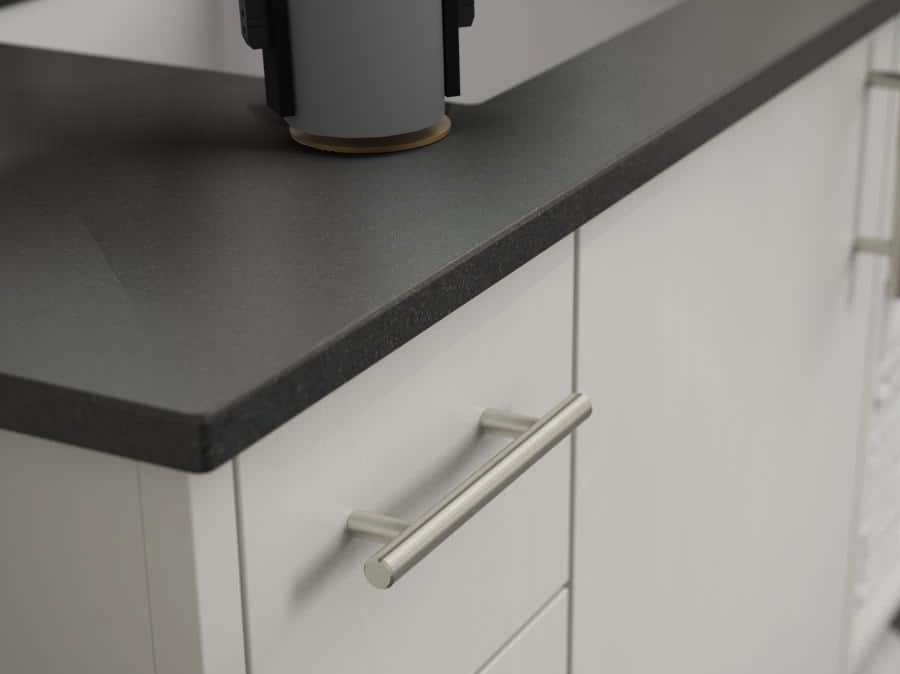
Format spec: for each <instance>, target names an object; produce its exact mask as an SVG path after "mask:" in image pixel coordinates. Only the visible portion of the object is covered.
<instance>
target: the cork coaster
mask: <svg viewBox="0 0 900 674" xmlns="http://www.w3.org/2000/svg"><path fill="white" fill-rule="evenodd" d="M451 129H452V121H451V119H450V117H448V116H447V115H446V114H444V115H443V117H442V118H441V120H440V122H438V123H436V124H433V125H431V126H428V127H426V128H424V129H421V130H419V131H414V132H409V133H403V134H398V135H392V136H386V137H365V138H341V137H330V136H320V135H313V134H310V133H306V132H303V131H300V130H297V129H294V128H291V126H290V125H289V130H288V131H289V135H290V134H291V135H292V136H293V137H294V138H295V139H297V140H298V141H300V142H302V143H305V144H307V145H310V146H312V147H314V148H319V149H321V150H320V151H324V150H327V151H326V152H331V151H334V152H333V153H342V152H343V153H344V154H379V153H380V154H381V153H390V152H399V151H405V150H412V149H415V148H420V147H424V146H427V145H430V144H434V143H436V142H438V141H440V140H442V139H444V138H445V137H447V136H448V135H449V134H450V133H451ZM314 148H313V149H314ZM319 149H318V150H319ZM343 153H342V154H343Z"/></svg>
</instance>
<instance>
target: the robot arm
mask: <svg viewBox="0 0 900 674" xmlns="http://www.w3.org/2000/svg"><path fill="white" fill-rule="evenodd" d="M237 2H238V11H239V22H240V34H241V36H242V39H243V40H244V42H245V45H247V46H248V47H249V48H250V49H252V50H253V51H255V50H256V51H257V50H261V53H262V54H261V55H262V65H263V77H264V78H263V79H264V90H265V100H266V106H267V107H269V109H271V110H272V112H274V113H275V114H276V115H277V116H278V117H279V118H284V117H290V116H295V111H294V98H293V85H292V71H291V58H290V45H289V32H288V18H287V5H286V0H238V1H237ZM475 8H476V7H475V0H442V28H443V60H444V93H445V97H446V98H455V97H461V95H462V93H461V65H460V64H461V62H460V61H461V59H460V57H461V55H460V28H469V27H470V28H471V27H472V26H473V23H474V20H475V15H476V14H475V13H476V12H475Z"/></svg>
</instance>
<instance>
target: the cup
mask: <svg viewBox="0 0 900 674" xmlns="http://www.w3.org/2000/svg"><path fill="white" fill-rule="evenodd" d="M286 5H287V18H288V32H289V45H290V58H291V71H292V85H293V98H294V111H295V116H290V117H283V119H284V120H285V122H286V123H287V124H288V125H289V127H290V126H291V128H294V129H297V130H300V131H303V132H306V133H310V134H313V135H320V136H330V137H341V138H365V137H386V136H392V135H398V134H403V133H409V132H414V131H419V130H421V129H424V128H426V127H428V126H431V125H433V124H436V123H438V122H440V120H441V118H442V117H443V115H445V113H446V98H445V97H446V96H445V93H444V60H443V28H442V0H286Z"/></svg>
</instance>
